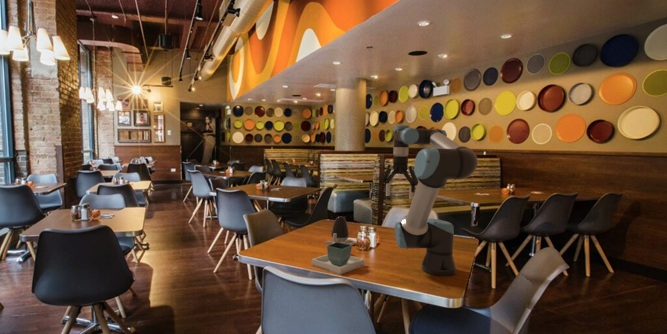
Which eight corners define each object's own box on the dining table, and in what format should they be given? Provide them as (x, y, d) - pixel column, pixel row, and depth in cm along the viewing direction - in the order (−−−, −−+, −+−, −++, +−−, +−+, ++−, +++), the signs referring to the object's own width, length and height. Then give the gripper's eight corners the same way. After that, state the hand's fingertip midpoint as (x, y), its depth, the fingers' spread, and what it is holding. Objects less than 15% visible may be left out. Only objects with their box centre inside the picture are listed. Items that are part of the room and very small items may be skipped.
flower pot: (341, 268, 164) (342, 249, 163) (325, 264, 168) (326, 245, 168) (351, 263, 171) (352, 245, 170) (336, 260, 176) (336, 241, 175)
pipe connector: (342, 256, 185) (342, 236, 185) (323, 254, 187) (323, 235, 187) (345, 250, 195) (345, 232, 195) (327, 249, 197) (327, 230, 197)
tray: (364, 265, 171) (364, 259, 171) (340, 274, 158) (340, 268, 158) (335, 257, 183) (336, 251, 182) (311, 265, 169) (311, 259, 169)
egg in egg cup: (351, 241, 215) (352, 216, 214) (342, 245, 206) (343, 218, 206) (337, 238, 221) (337, 213, 220) (327, 242, 212) (328, 216, 211)
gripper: (426, 156, 179) (425, 199, 181) (383, 154, 196) (382, 194, 197) (419, 156, 174) (417, 200, 175) (376, 154, 190) (374, 195, 191)
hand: (399, 197), depth 186 cm, fingers open, 13 cm apart
